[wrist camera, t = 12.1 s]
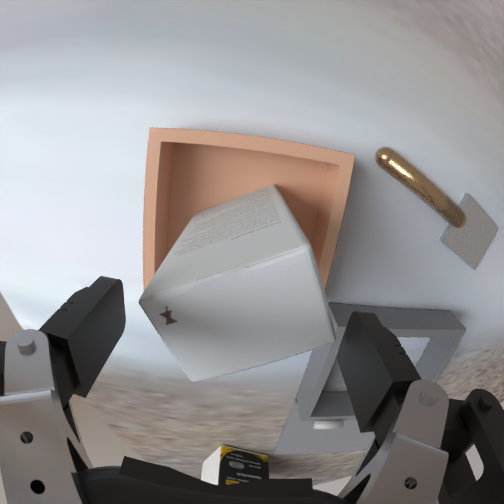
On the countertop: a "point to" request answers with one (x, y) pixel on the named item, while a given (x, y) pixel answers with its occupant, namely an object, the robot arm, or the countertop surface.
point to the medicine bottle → (234, 466)
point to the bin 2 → (338, 403)
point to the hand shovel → (446, 210)
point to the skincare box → (239, 289)
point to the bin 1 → (239, 186)
